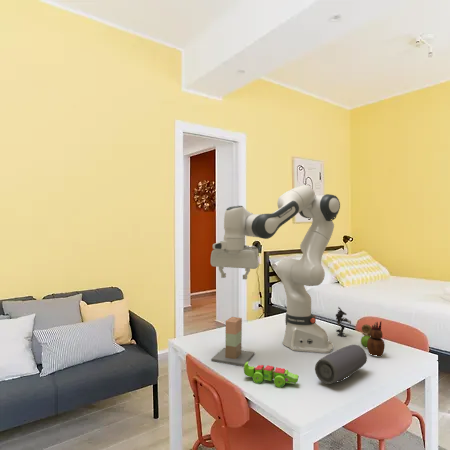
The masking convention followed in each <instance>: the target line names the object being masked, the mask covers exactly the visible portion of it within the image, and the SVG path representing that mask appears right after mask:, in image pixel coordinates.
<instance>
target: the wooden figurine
mask: <svg viewBox="0 0 450 450" xmlns="http://www.w3.org/2000/svg"><path fill="white" fill-rule="evenodd" d="M373 325H374V327H373ZM373 325H372V326H371V328H372V329H371V330H370V338H369V339H368V341H367V351H368V353H370V354H372V355H377V356H381V355H382V356H383V355H384V352H385V347H386V345H385V341H384V340H383V339H382V338H383V331H382V321H380V322H379V324H378V321H376V324H375V323H374V324H373ZM375 325H376V327H375ZM370 354H369V355H370ZM372 355H371V356H372ZM382 356H381V357H382Z"/></svg>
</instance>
